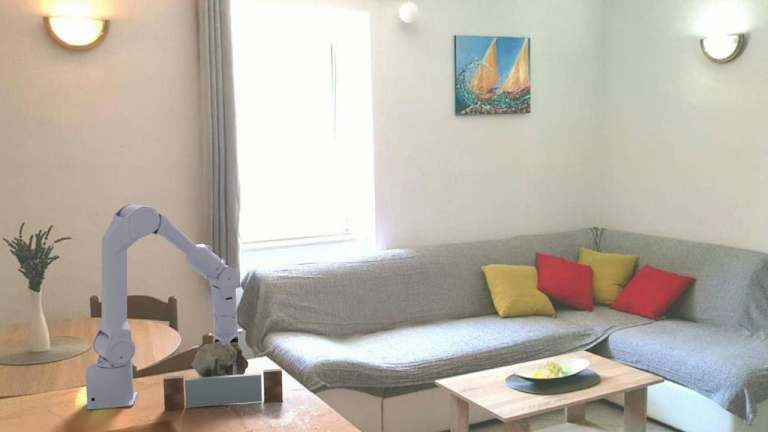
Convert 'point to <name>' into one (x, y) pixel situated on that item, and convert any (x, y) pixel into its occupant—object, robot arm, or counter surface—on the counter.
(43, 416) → the counter surface
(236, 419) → the counter surface
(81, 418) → the counter surface
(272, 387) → the door frame
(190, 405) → the door
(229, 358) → the stone
